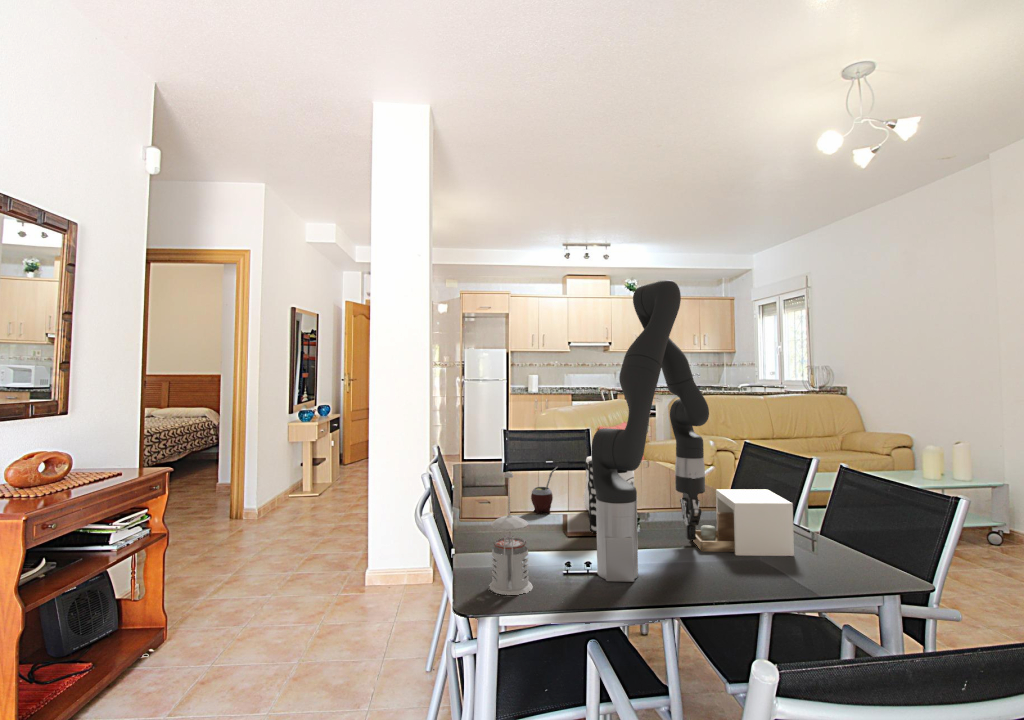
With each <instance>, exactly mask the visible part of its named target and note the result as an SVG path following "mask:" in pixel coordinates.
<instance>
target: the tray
mask: <svg viewBox="0 0 1024 720" xmlns="http://www.w3.org/2000/svg"><path fill="white" fill-rule="evenodd" d="M693 542H694V543H695V544H696V545H697V546H698V548H699V549H700V550H701V551H700V550H699V549H698V548H697V549H698V550H699V551H700V552H715V553H716V552H717V553H718V552H720V553H721V552H722V553H723V552H726V553H727V552H729V553H730V552H732V553H733V552H734V553H735V539H734V513H732V512H717V513H716V526H714V525H708V524H705V525H704V524H703V525H701V526H700V529H698V530H697V529H696V539H695V540H693ZM693 542H692V543H693ZM694 543H693V544H694ZM695 544H694V545H695ZM696 545H695V546H696ZM697 546H696V547H697Z"/></svg>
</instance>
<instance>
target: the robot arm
mask: <svg viewBox="0 0 1024 720" xmlns="http://www.w3.org/2000/svg"><path fill="white" fill-rule="evenodd" d="M681 297H682V295H681V289H680V287H679V285H678V284H677V283H676V282H675V281H674V280H670V279H664V280H658V281H656V282H651V283H648V284H645V285H641V286H638V287H637V288H636V289H635V290H634V292H633V296H632V305H633V307H634V311H635V314H636V316H637V318H638V320H639V322H640V324H641V326H642V328H643V330H642V331H641V333H640V334H639V335H638V336H637V338H635V340H634V341H633V342H632V343H631V344H630V346H629V347H628V349H627V350H626V352H625V355H624V357H623V360H622V364H621V367H620V371H619V384H620V388H621V391H622V394H623V396H624V398H625V401H626V403H627V407H628V408H627V409H628V416H627V423H626V425H625V428H624V429H622V428H621V429H620V428H609V427H607V428H600V429H598V430H597V431H596V432H595V433H594V435H593V436H592V441H591V449H590V450H591V453H590V456H592V469H593V484H594V488H595V491H596V523H597V534H596V564H597V565H596V566H597V571H596V572H597V575H598V576H599V577H600V578H602V579H604V580H605V581H606V582H635V579H637V578H638V577H639V554H638V553H639V551H638V550H639V549H638V545H639V544H638V543H639V542H638V493H637V492H638V491H637V488H636V486H635V485H634V486H635V487H634V486H633V485H632V484H630V483H628V482H627V481H625V480H624V479H623V478H622V477H621V476H620V475H619V474H618V472H617V470H624V471H634V472H635V470H637V469H638V468H639V467H640V465H641V463H642V460H643V456H644V453H645V448H646V443H647V434H648V429H649V422H650V415H651V409H652V405H653V402H654V397H655V393H656V390H657V385H658V383H659V378H660V376H661V371H662V374H663V378H664V381H665V384H666V387H667V389H668V391H669V393H671V394H673V395H674V396H676V397H678V398H679V399H675V400H674V401H673V402H672V404H671V406H670V409H669V419H670V424H671V428H672V431H673V436H674V439H675V464H674V465H675V466H674V471H675V478H674V480H675V490H676V491H677V493H680V494H682V497H681V498H680V499H679V502H680V509H681V513H682V518H683V521H684V522H683V523H684V524H685V538H686V539H687V540H688V541H692V540H695V539H696V530H697V528H696V527H697V526H699V524H700V520H701V516H702V513H703V511H702V509H701V508H700V506H701V503H700V502H701V501H700V499H699V494H701V495H702V494H703V493H705V492H706V474H705V473H706V472H705V471H706V468H705V467H706V464H705V458H704V439H703V437H702V436H701V435H699V434H698V433H696V432H695V430H694V427H701V426H703V425H705V424H706V423H708V422H707V421H708V420H709V417H710V409H709V405H708V402H707V400H706V398H705V397H704V395H703V393H702V391H701V390H700V388H699V387H698V386H697V384H696V382H695V380H694V377H693V374H692V373H693V372H692V369H691V366H690V363H689V360H688V359H687V356H686V355H685V353H684V352H683V351H682V349H680V347H679V346H678V345H677V344H676V343H675V342H674V341H673V340H672V339H671V338H670V335H671V332H672V330H673V327H674V325H675V322H676V319H677V317H678V313H679V310H680V306H681V302H682V300H681Z"/></svg>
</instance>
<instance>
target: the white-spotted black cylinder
mask: <svg viewBox="0 0 1024 720" xmlns="http://www.w3.org/2000/svg"><path fill="white" fill-rule="evenodd" d="M588 473H589V511H588V520H589V521H588V524H589V527H588V528H589V530H590V531H591V532H593V533H597V523H596V491H595V488H594V484H593V469H592V461H589V462H588ZM590 531H589V532H590ZM591 532H590V533H591ZM593 533H592V534H593Z"/></svg>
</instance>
